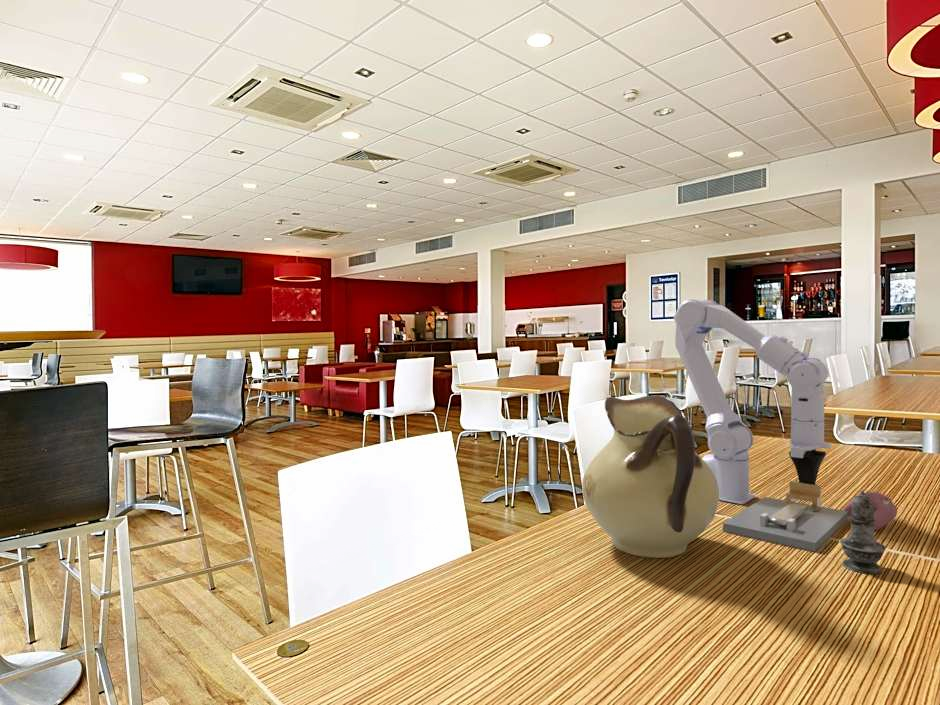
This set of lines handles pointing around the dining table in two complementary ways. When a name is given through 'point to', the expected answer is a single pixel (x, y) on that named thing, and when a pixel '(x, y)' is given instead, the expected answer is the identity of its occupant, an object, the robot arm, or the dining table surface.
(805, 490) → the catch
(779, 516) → the silver flat bar
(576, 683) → the dining table surface
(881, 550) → the grey stone finial
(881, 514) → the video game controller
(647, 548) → the pitcher
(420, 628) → the dining table surface
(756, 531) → the base board
